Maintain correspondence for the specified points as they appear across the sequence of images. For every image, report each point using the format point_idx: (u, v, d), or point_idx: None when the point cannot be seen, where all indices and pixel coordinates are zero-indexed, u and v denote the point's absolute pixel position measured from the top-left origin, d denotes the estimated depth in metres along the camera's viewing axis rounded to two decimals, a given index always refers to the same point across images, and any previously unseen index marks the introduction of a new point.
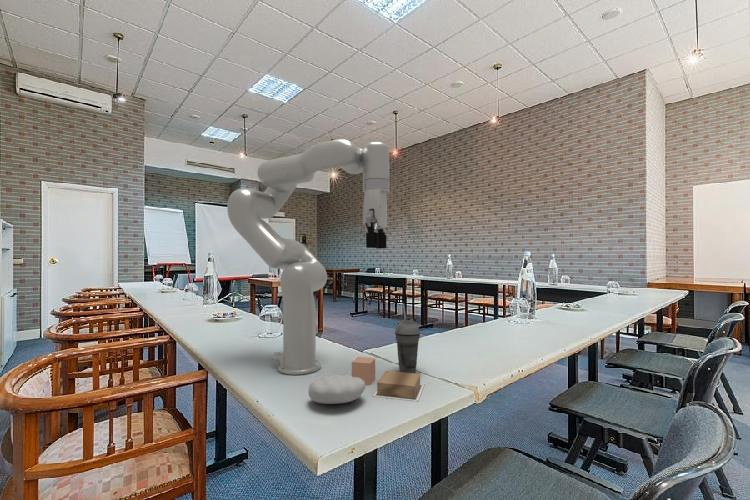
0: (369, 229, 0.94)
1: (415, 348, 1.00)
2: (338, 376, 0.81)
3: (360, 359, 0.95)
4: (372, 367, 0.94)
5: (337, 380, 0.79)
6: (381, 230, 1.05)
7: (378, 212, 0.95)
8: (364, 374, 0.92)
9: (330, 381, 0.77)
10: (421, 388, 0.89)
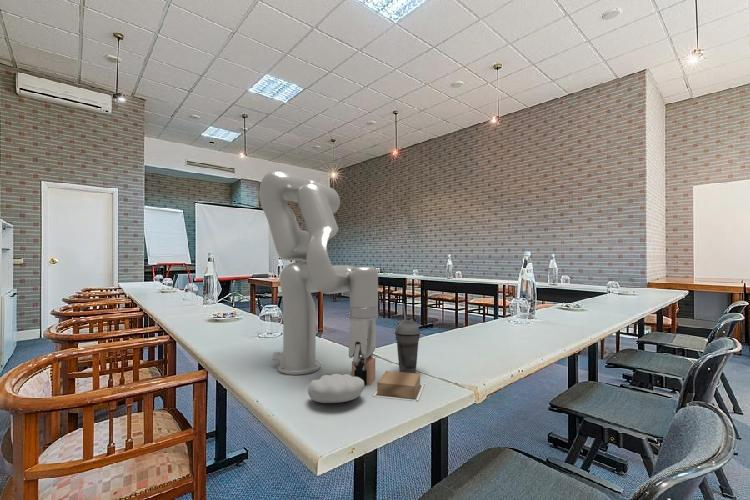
0: (357, 368, 0.90)
1: (415, 348, 1.00)
2: (337, 375, 0.81)
3: None
4: (372, 367, 0.94)
5: (336, 379, 0.79)
6: None
7: (365, 346, 0.90)
8: None
9: (330, 380, 0.78)
10: (421, 388, 0.89)
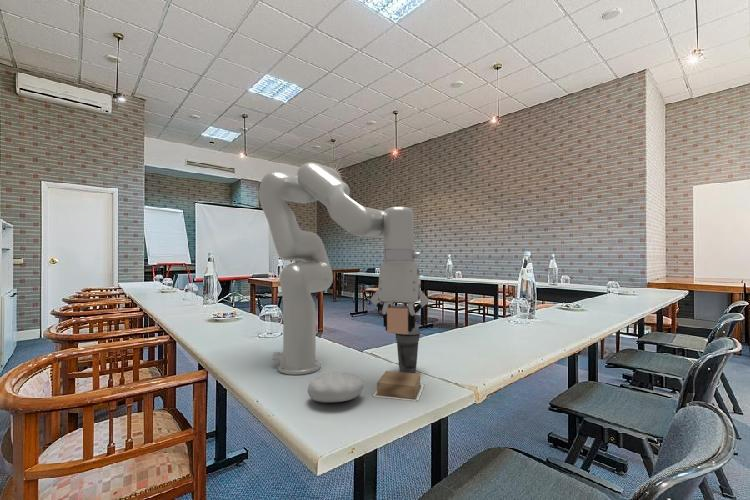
0: None
1: (415, 348, 1.00)
2: (337, 375, 0.82)
3: (400, 306, 0.89)
4: (395, 315, 0.86)
5: (336, 379, 0.80)
6: None
7: (378, 288, 0.88)
8: None
9: (329, 380, 0.78)
10: (421, 388, 0.89)
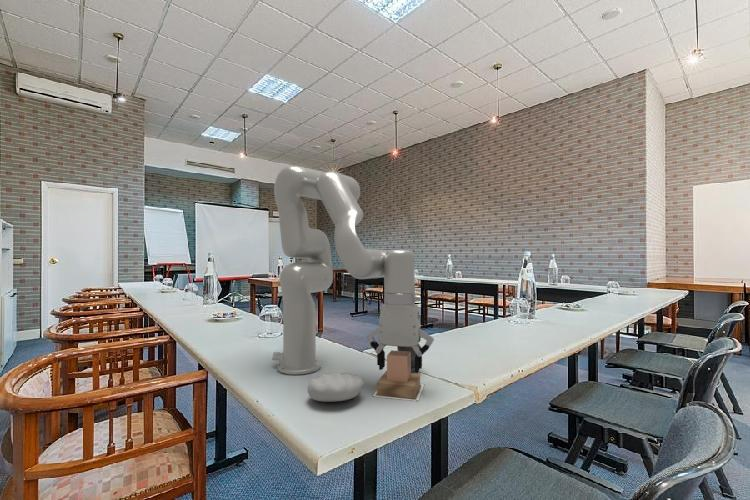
0: None
1: None
2: (337, 374, 0.82)
3: (400, 352, 0.89)
4: (395, 363, 0.86)
5: (336, 378, 0.80)
6: None
7: (378, 330, 0.88)
8: None
9: (329, 379, 0.79)
10: (421, 388, 0.89)
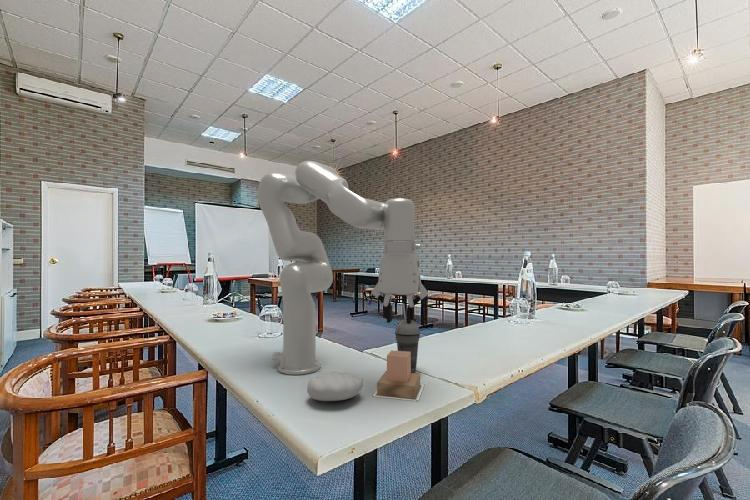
0: None
1: (415, 348, 1.00)
2: (336, 374, 0.82)
3: (400, 352, 0.89)
4: (395, 363, 0.86)
5: (335, 378, 0.80)
6: None
7: None
8: None
9: (329, 379, 0.79)
10: (421, 388, 0.89)
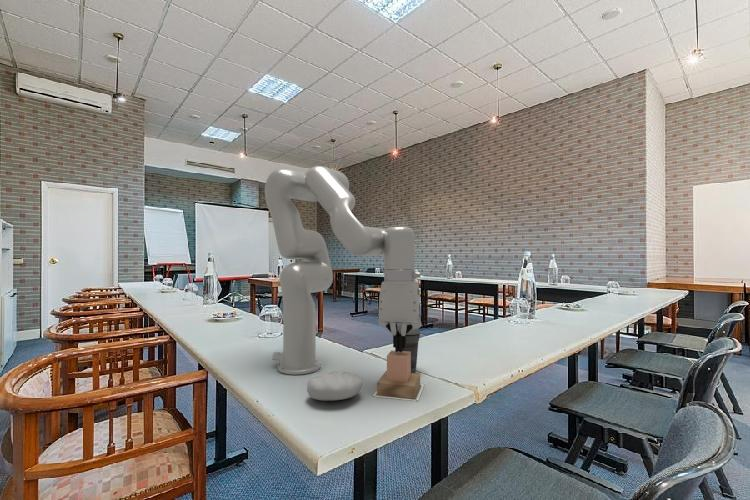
0: None
1: (415, 348, 1.00)
2: (336, 373, 0.83)
3: (400, 352, 0.89)
4: (395, 363, 0.86)
5: (335, 377, 0.81)
6: None
7: (379, 307, 0.88)
8: None
9: (328, 378, 0.79)
10: (421, 388, 0.89)
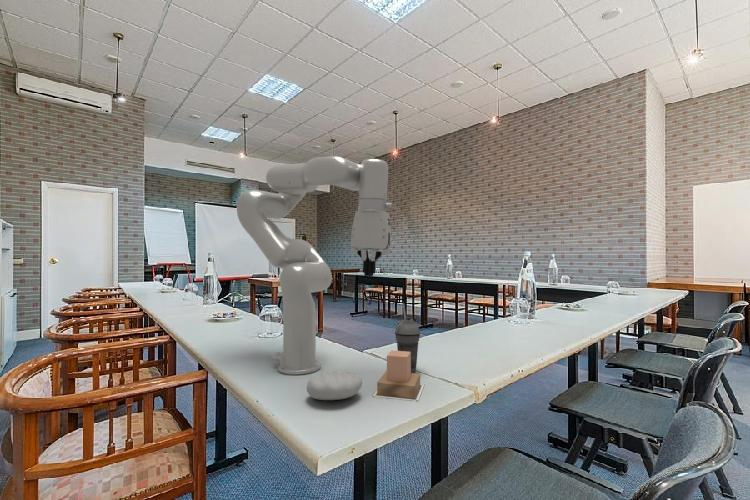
0: None
1: (415, 348, 1.00)
2: (336, 373, 0.83)
3: (400, 352, 0.89)
4: (395, 363, 0.86)
5: (335, 377, 0.81)
6: None
7: (351, 234, 0.94)
8: None
9: (328, 378, 0.79)
10: (421, 388, 0.89)
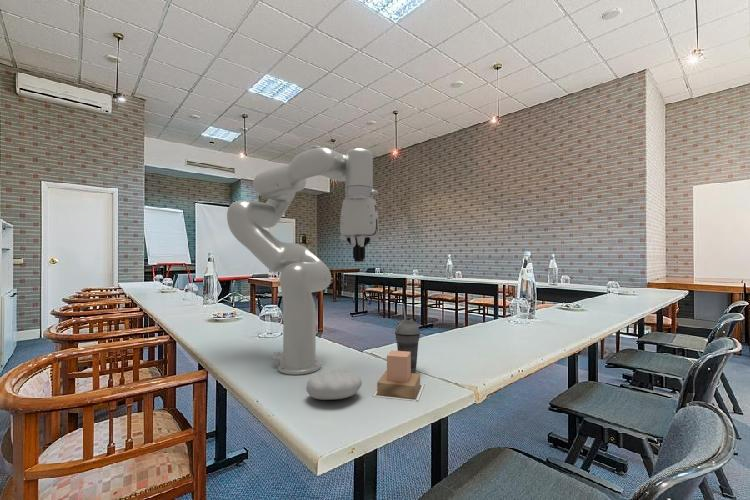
0: None
1: (415, 348, 1.00)
2: (335, 373, 0.83)
3: (400, 352, 0.89)
4: (395, 363, 0.86)
5: (334, 377, 0.81)
6: None
7: (340, 222, 0.97)
8: None
9: (328, 377, 0.80)
10: (421, 388, 0.89)
